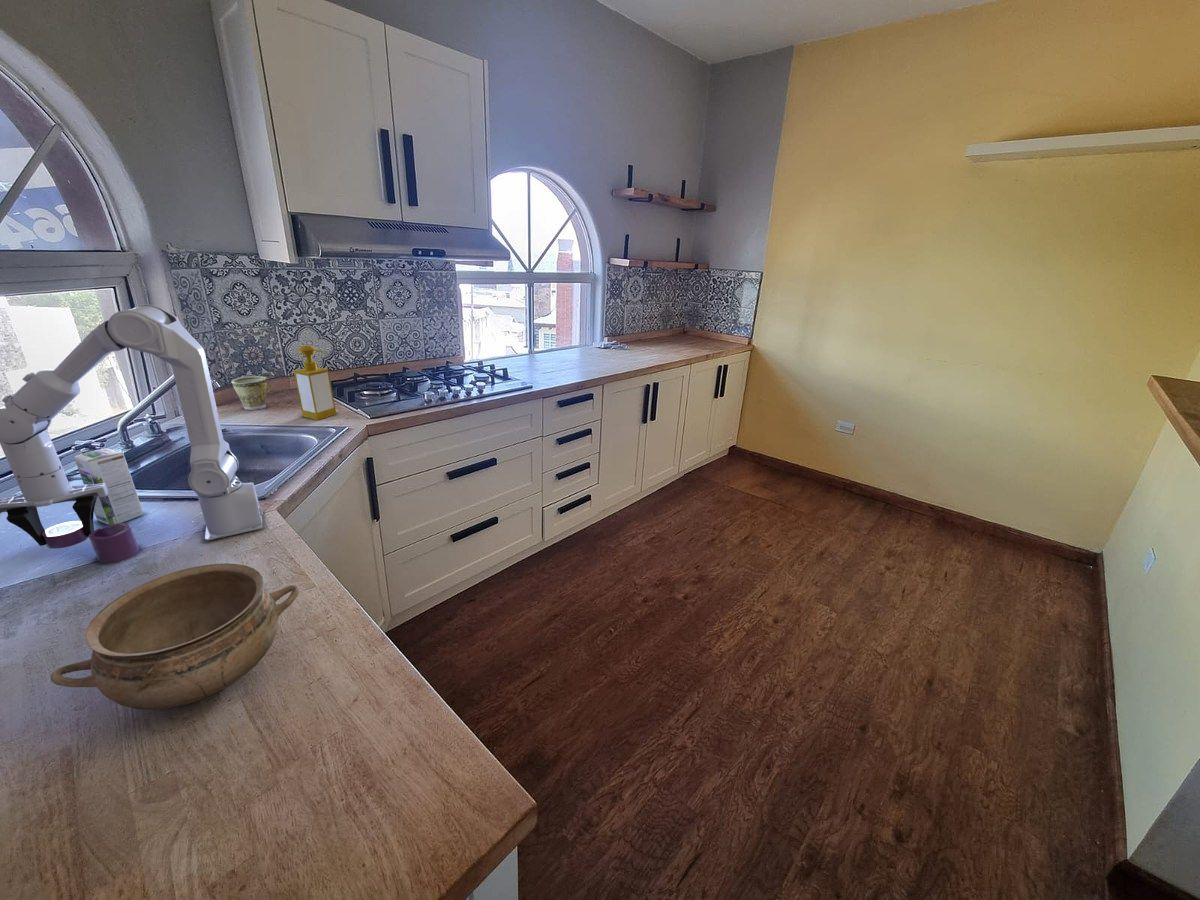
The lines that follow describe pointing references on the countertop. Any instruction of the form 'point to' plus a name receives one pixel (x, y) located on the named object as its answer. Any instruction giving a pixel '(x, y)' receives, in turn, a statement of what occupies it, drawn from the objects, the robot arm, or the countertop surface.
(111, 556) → the dish bottom
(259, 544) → the countertop surface
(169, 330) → the robot arm
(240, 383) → the ceramic cup
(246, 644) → the cooking pot
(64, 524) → the dish top
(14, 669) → the countertop surface
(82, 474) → the syrup box
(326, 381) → the soap bottle
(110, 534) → the dish middle
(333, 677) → the countertop surface
